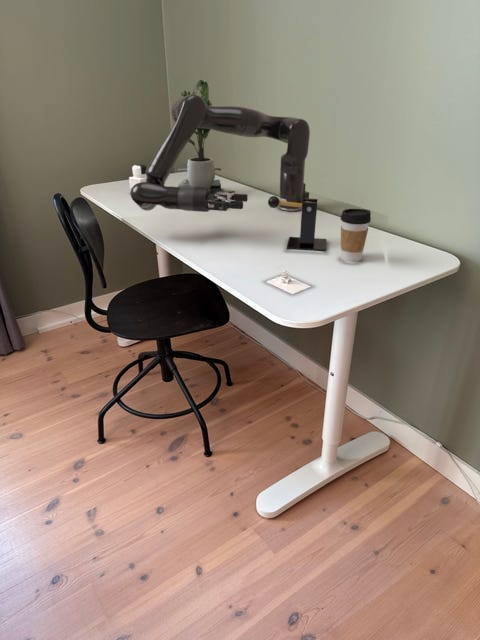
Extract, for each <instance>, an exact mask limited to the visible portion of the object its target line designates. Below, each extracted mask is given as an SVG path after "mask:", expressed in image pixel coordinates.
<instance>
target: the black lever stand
mask: <svg viewBox="0 0 480 640" xmlns="http://www.w3.org/2000/svg"><path fill="white" fill-rule="evenodd" d="M306 201H308V202H306ZM317 210H318V198H310V197H309V198H303V202H302V209H301V216H300V231H299V232H300V234H299V237H298V236H289V237H288V240H287V241H288V242H287V245H286V250H293V251H311V252H326V251H327V238H320V237H319V238H318V237H315V236H316V226H317V225H316V224H317V223H316V222H317Z"/></svg>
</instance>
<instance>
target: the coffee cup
mask: <svg viewBox="0 0 480 640" xmlns="http://www.w3.org/2000/svg"><path fill="white" fill-rule="evenodd" d="M371 215H372V214H371V210H369V209H367V208H366V209H365V208H345V209H343V210H342V212H341V215H340V221H341V226H340V259H341V260H342V261H345V262H349V263H357V262H360V261H362V258H363V253H364V249H365V245H366V240H367V235H368V232H369V223H371V220H372V217H371Z"/></svg>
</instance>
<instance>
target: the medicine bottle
mask: <svg viewBox="0 0 480 640" xmlns="http://www.w3.org/2000/svg"><path fill="white" fill-rule="evenodd" d="M147 167H148V166H147V165H145V164H134V165H133V166H132V168H131V170H132V176H129V177H128V182H129V190H130V192H131V188H132V187H133V186H134V185H135V184H137V183H140V182H146V179H147V177H146V169H147Z"/></svg>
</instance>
